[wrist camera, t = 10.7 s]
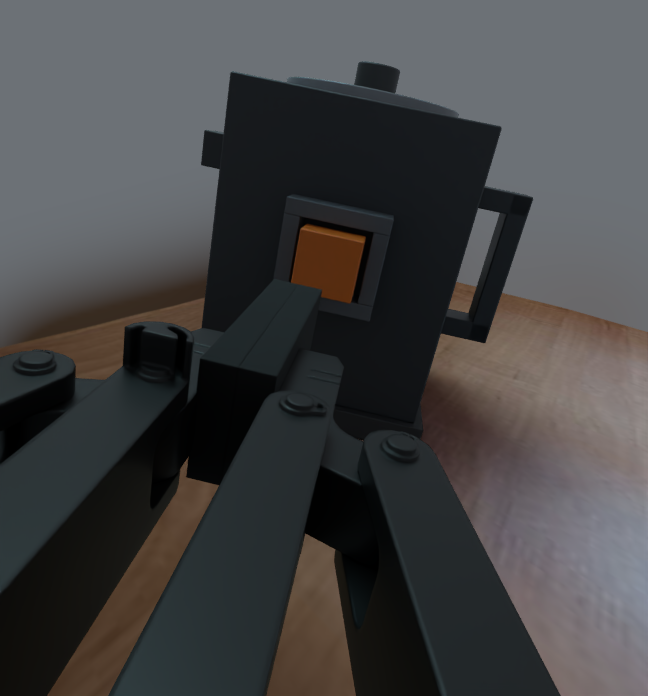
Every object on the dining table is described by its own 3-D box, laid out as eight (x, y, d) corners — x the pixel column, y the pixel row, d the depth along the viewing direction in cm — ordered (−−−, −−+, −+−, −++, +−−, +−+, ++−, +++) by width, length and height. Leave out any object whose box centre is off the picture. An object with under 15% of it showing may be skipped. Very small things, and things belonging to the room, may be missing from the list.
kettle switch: (289, 290, 25) (300, 228, 24) (295, 281, 27) (306, 223, 26) (350, 304, 25) (364, 242, 24) (353, 294, 27) (366, 236, 26)
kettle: (136, 396, 30) (163, -4, 23) (218, 317, 44) (251, 54, 37) (475, 477, 29) (617, 87, 22) (449, 370, 43) (530, 111, 36)
